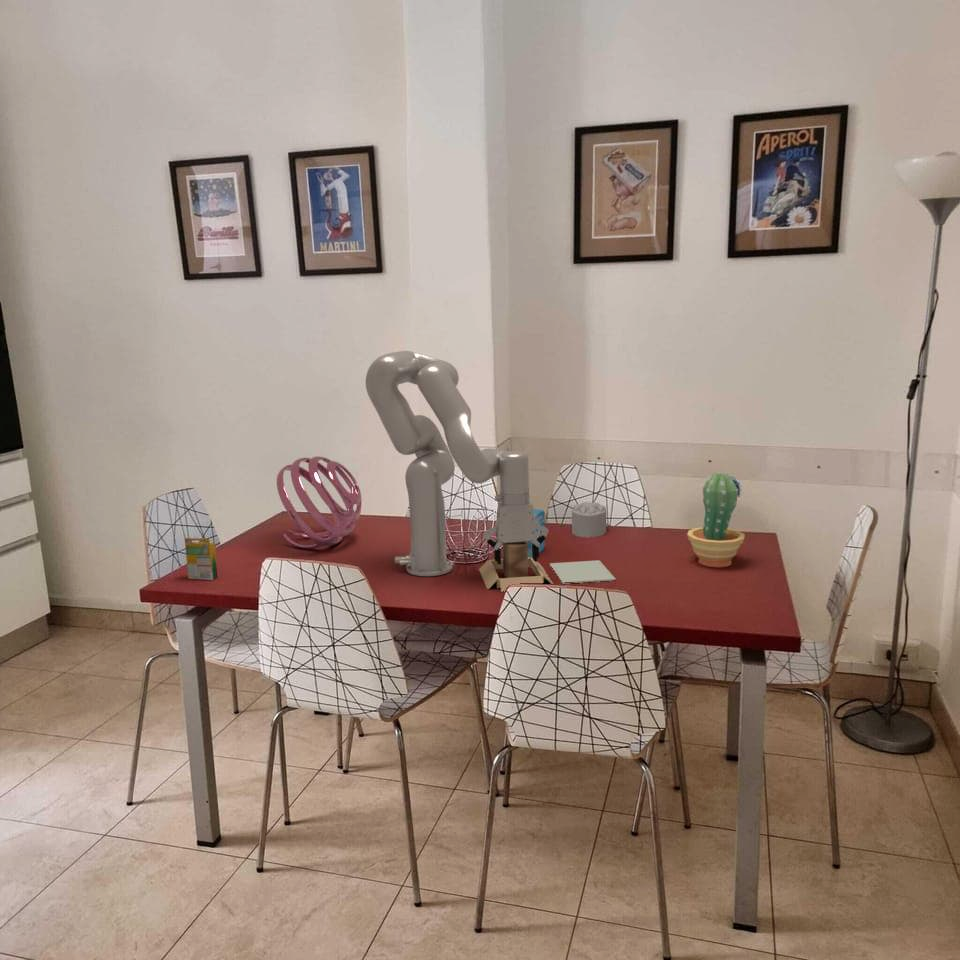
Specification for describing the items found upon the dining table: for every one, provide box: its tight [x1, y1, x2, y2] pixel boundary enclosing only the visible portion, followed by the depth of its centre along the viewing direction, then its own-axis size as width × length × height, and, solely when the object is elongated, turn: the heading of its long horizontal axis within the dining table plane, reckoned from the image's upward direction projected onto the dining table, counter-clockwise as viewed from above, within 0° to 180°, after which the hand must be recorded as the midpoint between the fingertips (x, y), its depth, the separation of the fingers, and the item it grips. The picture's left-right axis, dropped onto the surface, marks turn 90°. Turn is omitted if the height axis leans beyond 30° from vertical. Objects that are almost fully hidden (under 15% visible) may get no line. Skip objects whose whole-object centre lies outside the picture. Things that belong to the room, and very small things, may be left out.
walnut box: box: [502, 542, 529, 578], centre depth 233 cm, size 5×9×10 cm, turn 8°
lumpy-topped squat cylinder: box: [571, 501, 607, 539], centre depth 274 cm, size 10×13×9 cm
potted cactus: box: [686, 471, 745, 568], centre depth 240 cm, size 15×15×25 cm
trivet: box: [549, 560, 616, 585], centre depth 236 cm, size 14×16×1 cm
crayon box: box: [184, 537, 219, 581], centre depth 238 cm, size 7×3×12 cm, turn 80°
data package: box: [526, 508, 546, 558], centre depth 253 cm, size 12×4×12 cm, turn 157°
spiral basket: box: [276, 455, 363, 550], centre depth 266 cm, size 28×28×27 cm
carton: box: [478, 557, 554, 593], centre depth 234 cm, size 17×21×3 cm
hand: (516, 561), depth 233 cm, fingers open, 9 cm apart
